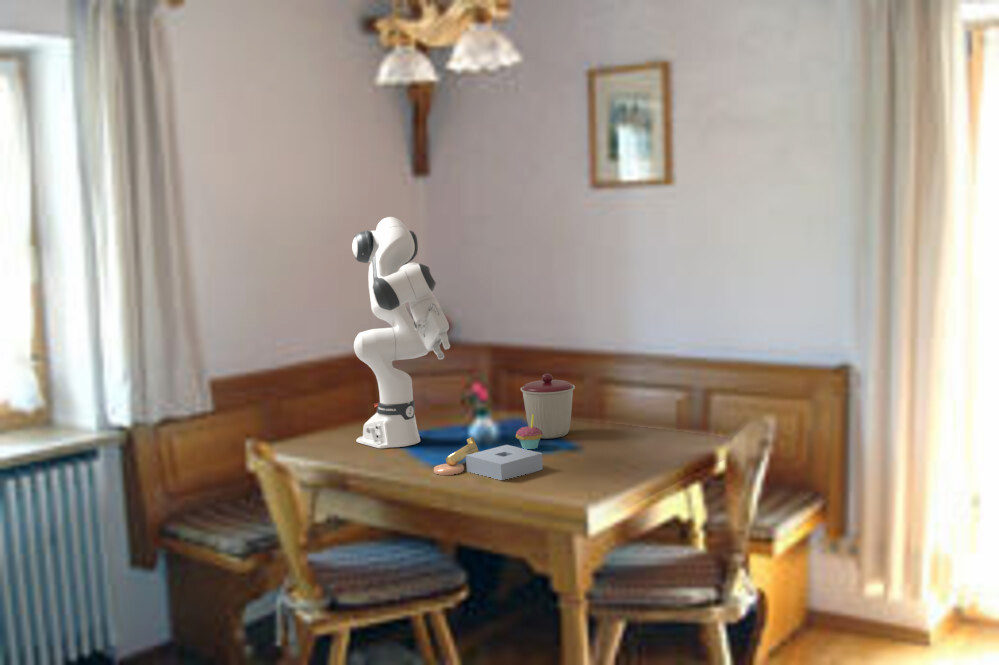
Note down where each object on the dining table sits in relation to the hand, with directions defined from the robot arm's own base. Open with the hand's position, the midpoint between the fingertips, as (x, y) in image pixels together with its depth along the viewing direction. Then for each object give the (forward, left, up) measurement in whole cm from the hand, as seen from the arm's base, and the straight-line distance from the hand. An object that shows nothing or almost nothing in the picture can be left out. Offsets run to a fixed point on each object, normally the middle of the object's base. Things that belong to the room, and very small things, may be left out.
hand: (444, 353), depth 314 cm
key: (+5, -6, -31) cm, 32 cm away
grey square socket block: (+20, +1, -34) cm, 40 cm away
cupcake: (+11, +26, -34) cm, 44 cm away
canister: (+7, +43, -34) cm, 55 cm away
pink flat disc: (+6, -8, -34) cm, 35 cm away
